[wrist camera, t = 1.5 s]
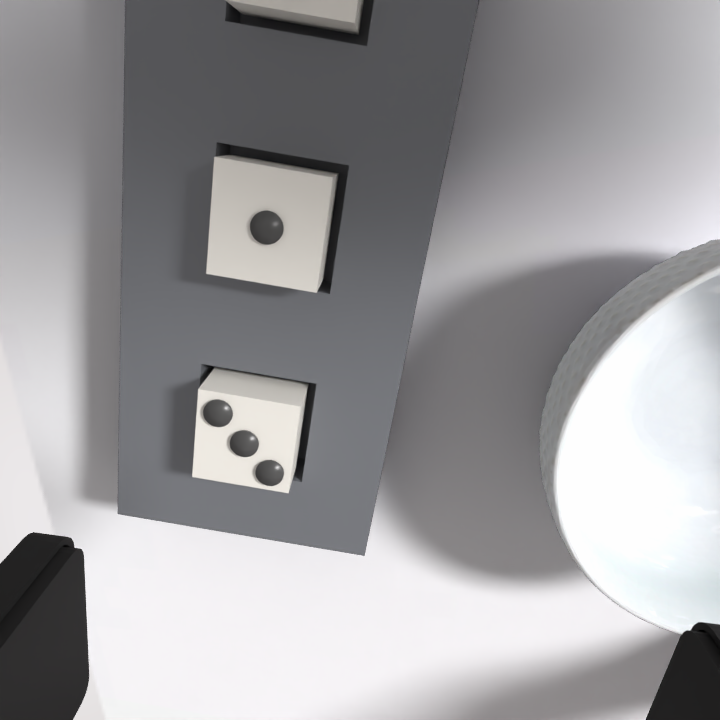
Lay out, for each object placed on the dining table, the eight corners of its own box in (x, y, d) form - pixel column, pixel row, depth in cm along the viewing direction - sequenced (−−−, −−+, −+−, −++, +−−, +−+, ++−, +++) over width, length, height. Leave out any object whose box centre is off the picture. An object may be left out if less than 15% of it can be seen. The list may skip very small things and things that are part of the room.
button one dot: (231, 154, 23) (213, 157, 20) (338, 173, 23) (332, 177, 20) (223, 260, 24) (205, 274, 22) (323, 278, 24) (316, 294, 22)
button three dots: (215, 367, 26) (197, 390, 24) (308, 383, 26) (300, 408, 24) (208, 449, 27) (190, 478, 25) (297, 464, 28) (287, 495, 25)
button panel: (167, -261, 20) (130, -326, 17) (511, -199, 20) (531, -252, 17) (142, 479, 31) (117, 514, 28) (367, 517, 31) (364, 555, 28)
